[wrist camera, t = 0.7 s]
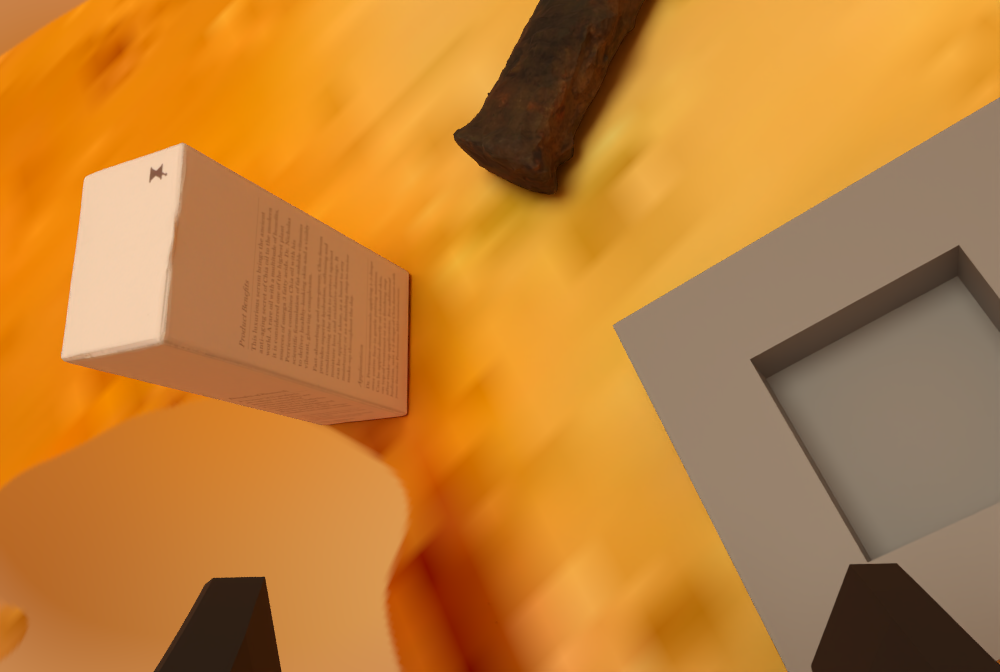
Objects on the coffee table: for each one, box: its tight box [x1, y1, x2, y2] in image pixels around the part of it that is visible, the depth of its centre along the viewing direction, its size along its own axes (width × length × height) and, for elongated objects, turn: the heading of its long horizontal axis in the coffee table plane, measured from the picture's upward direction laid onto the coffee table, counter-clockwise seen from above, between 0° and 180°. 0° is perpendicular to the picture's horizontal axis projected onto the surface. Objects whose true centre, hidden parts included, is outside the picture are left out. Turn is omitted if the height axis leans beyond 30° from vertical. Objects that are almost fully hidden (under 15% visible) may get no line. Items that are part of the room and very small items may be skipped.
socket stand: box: [613, 98, 1000, 672], centre depth 23 cm, size 12×12×4 cm
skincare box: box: [61, 143, 409, 425], centre depth 29 cm, size 6×4×12 cm
